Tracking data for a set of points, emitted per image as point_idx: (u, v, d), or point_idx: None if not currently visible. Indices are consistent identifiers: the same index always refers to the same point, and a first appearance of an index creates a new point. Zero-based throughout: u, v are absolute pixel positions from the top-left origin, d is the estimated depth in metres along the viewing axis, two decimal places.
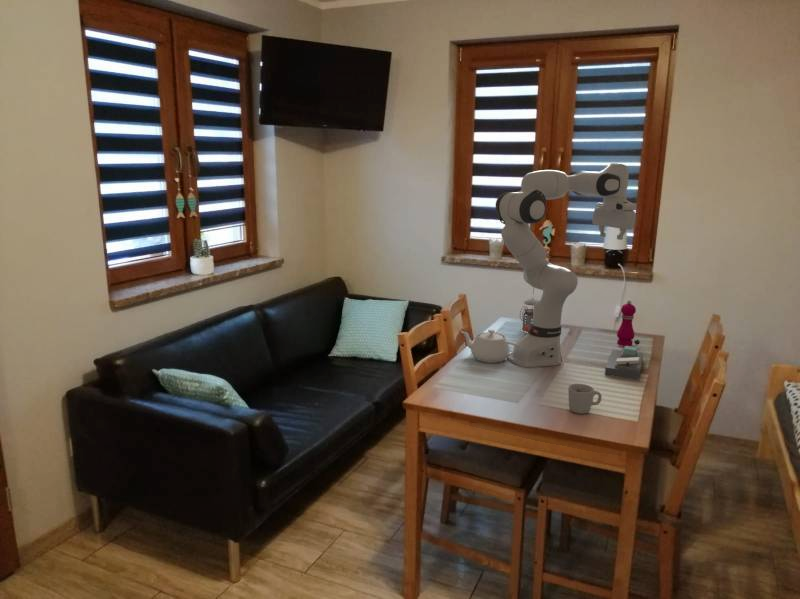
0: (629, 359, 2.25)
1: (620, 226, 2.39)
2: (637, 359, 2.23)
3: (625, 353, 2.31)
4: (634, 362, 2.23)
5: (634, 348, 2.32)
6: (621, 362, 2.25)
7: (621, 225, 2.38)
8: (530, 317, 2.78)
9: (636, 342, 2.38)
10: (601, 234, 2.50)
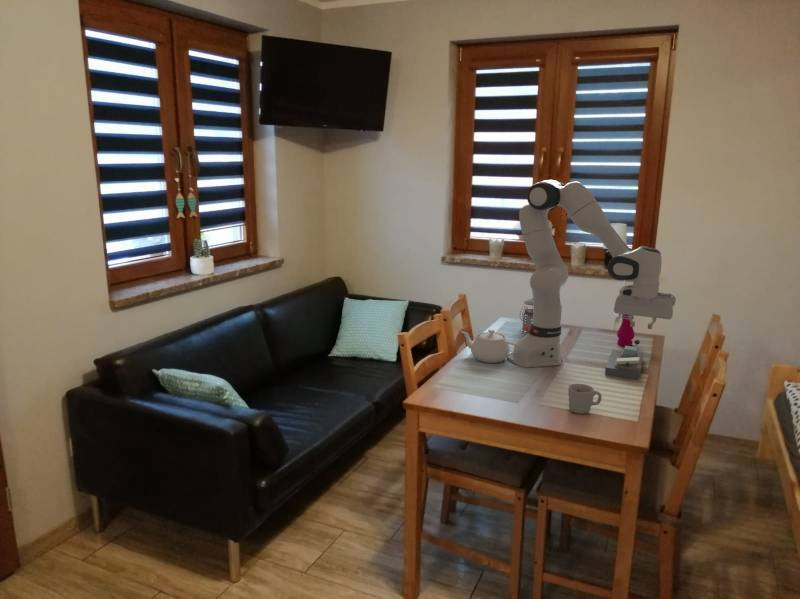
0: (629, 359, 2.25)
1: None
2: (637, 359, 2.23)
3: (625, 353, 2.31)
4: (634, 362, 2.23)
5: (634, 348, 2.32)
6: (621, 362, 2.25)
7: None
8: (530, 317, 2.78)
9: (636, 342, 2.38)
10: None
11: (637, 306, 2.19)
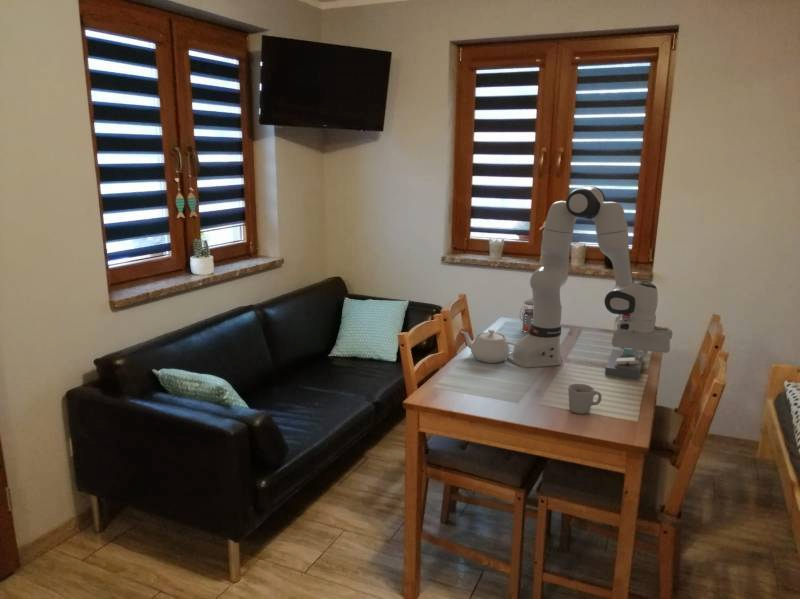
0: (629, 359, 2.25)
1: None
2: None
3: (625, 353, 2.31)
4: (634, 362, 2.23)
5: None
6: (621, 362, 2.25)
7: None
8: (530, 317, 2.78)
9: None
10: None
11: (635, 340, 2.21)
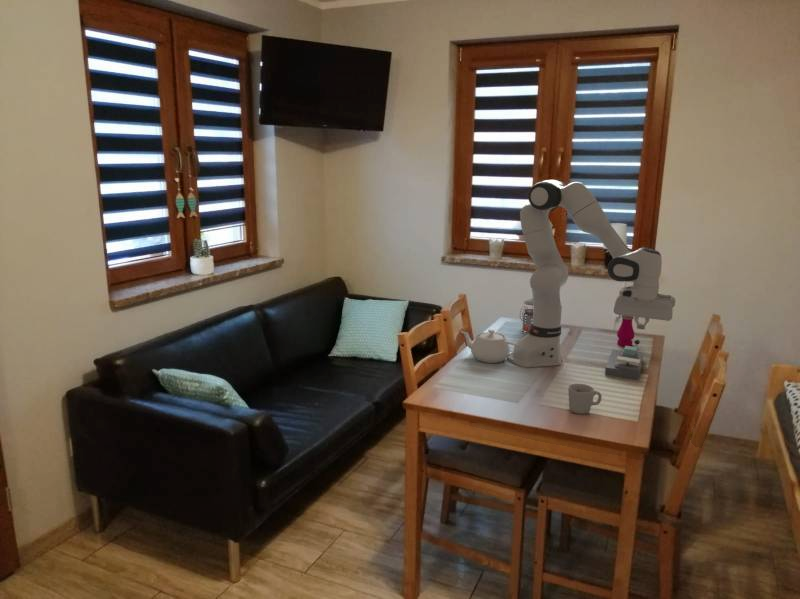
0: (630, 359, 2.25)
1: None
2: (638, 361, 2.23)
3: (625, 353, 2.31)
4: (634, 364, 2.23)
5: (634, 348, 2.32)
6: (621, 361, 2.25)
7: None
8: (530, 317, 2.78)
9: (636, 342, 2.38)
10: None
11: (637, 308, 2.19)
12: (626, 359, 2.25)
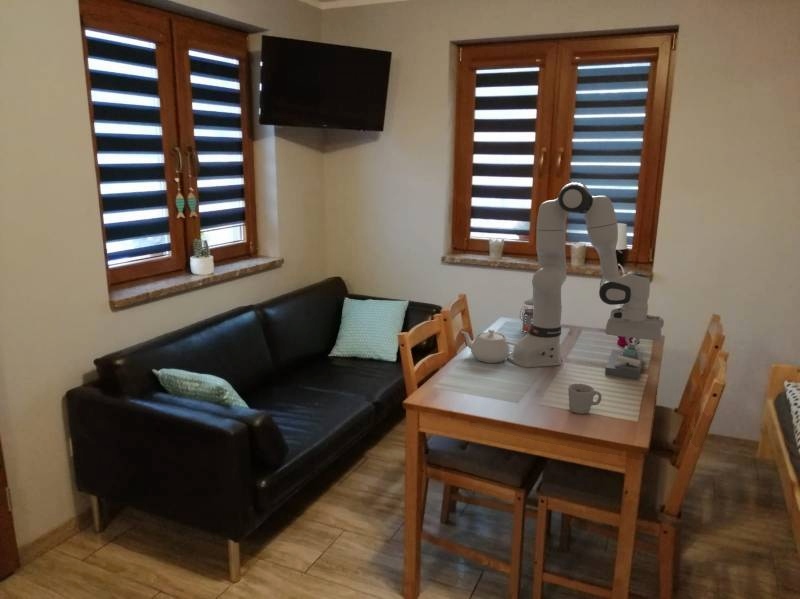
0: (630, 360, 2.25)
1: None
2: (638, 362, 2.24)
3: (625, 353, 2.31)
4: (634, 364, 2.23)
5: None
6: (622, 360, 2.25)
7: None
8: (530, 317, 2.78)
9: None
10: None
11: (628, 328, 2.29)
12: (626, 359, 2.25)
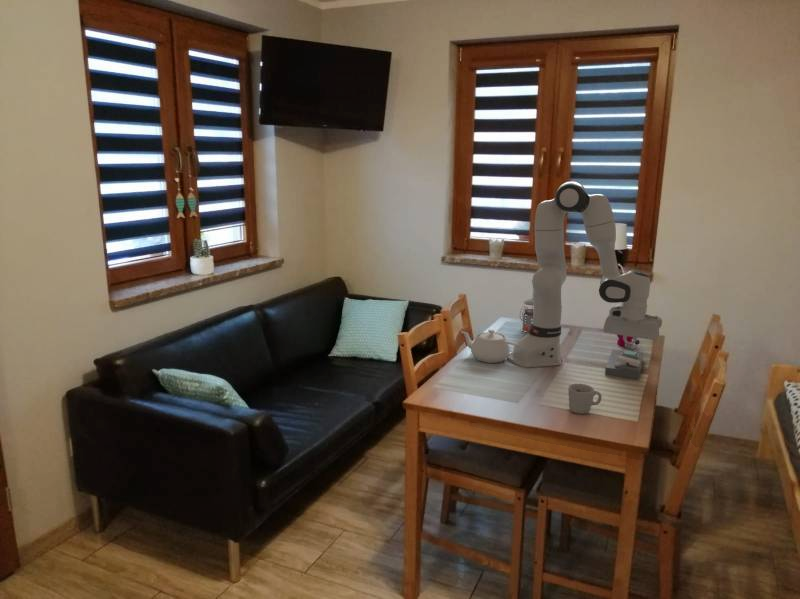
0: (630, 360, 2.25)
1: None
2: (638, 362, 2.24)
3: None
4: (634, 364, 2.23)
5: (633, 353, 2.32)
6: (622, 360, 2.25)
7: None
8: (530, 317, 2.78)
9: (636, 342, 2.38)
10: None
11: (626, 327, 2.29)
12: (626, 359, 2.25)
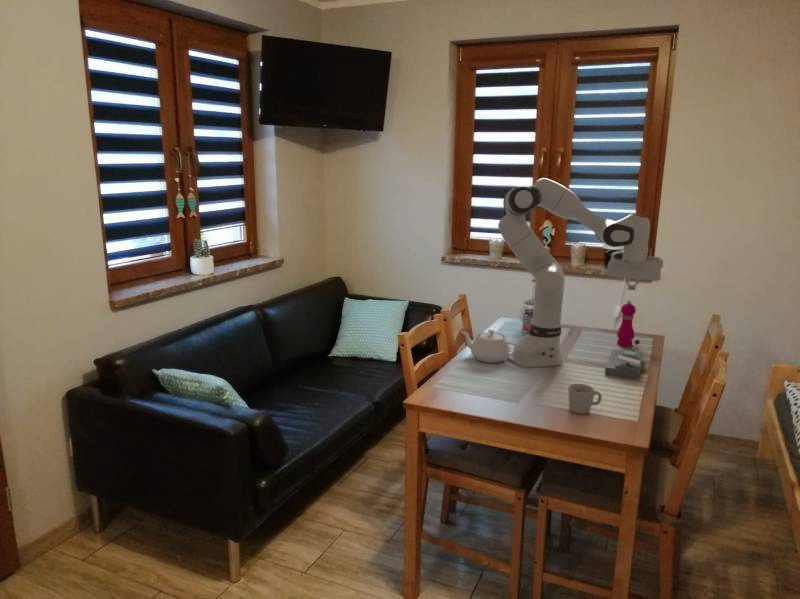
0: (630, 360, 2.25)
1: None
2: (638, 362, 2.24)
3: None
4: (634, 364, 2.23)
5: (633, 353, 2.32)
6: (622, 360, 2.25)
7: None
8: (530, 317, 2.78)
9: (636, 342, 2.38)
10: None
11: (628, 269, 2.36)
12: (626, 359, 2.25)
